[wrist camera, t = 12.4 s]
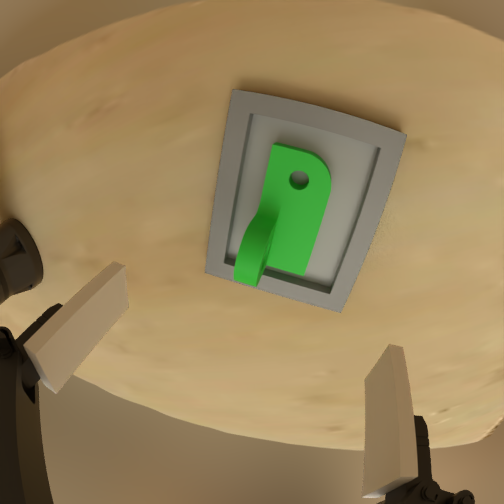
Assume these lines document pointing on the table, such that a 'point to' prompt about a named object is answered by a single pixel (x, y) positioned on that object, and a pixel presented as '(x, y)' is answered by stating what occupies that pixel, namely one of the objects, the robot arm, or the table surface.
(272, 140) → the locating tray
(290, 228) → the mechanical part
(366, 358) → the table surface
